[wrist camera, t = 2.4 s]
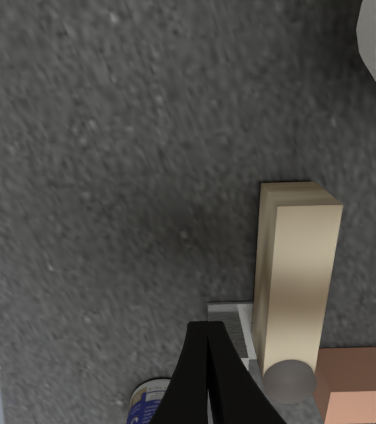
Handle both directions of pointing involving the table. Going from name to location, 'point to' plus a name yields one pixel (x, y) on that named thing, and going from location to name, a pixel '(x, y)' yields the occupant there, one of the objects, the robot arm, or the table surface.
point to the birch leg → (292, 284)
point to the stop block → (346, 385)
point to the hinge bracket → (236, 325)
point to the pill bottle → (146, 401)
